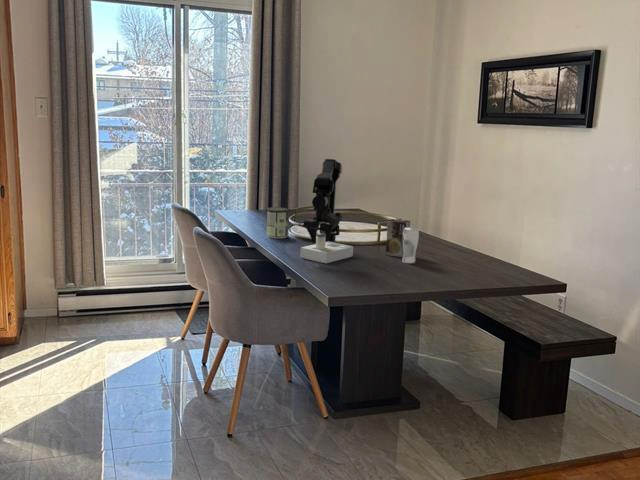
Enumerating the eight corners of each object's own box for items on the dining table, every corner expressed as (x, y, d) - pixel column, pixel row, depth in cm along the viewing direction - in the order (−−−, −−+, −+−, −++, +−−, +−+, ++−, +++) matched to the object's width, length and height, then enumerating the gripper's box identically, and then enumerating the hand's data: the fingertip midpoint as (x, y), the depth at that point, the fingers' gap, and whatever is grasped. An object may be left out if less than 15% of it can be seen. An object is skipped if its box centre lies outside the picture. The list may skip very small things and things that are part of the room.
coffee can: (274, 233, 337) (275, 206, 334) (290, 236, 331) (291, 208, 329) (262, 236, 328) (262, 208, 325) (278, 239, 323) (279, 211, 320)
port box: (327, 250, 303) (328, 240, 302) (352, 256, 295) (353, 245, 294) (300, 257, 288) (300, 246, 287) (325, 263, 279) (326, 252, 278)
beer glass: (406, 264, 284) (409, 230, 281) (397, 260, 290) (400, 227, 287) (419, 263, 287) (422, 229, 284) (410, 259, 293) (413, 226, 290)
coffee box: (408, 255, 303) (411, 220, 299) (404, 257, 297) (406, 222, 294) (389, 252, 306) (392, 218, 303) (384, 255, 301) (387, 220, 297)
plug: (319, 254, 290) (320, 232, 288) (326, 256, 287) (327, 234, 285) (313, 256, 287) (314, 233, 285) (320, 257, 284) (322, 235, 282)
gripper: (324, 210, 270) (322, 247, 273) (350, 206, 285) (348, 241, 288) (303, 206, 277) (301, 243, 280) (329, 203, 291) (328, 237, 295)
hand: (320, 241), depth 286 cm, fingers open, 9 cm apart
